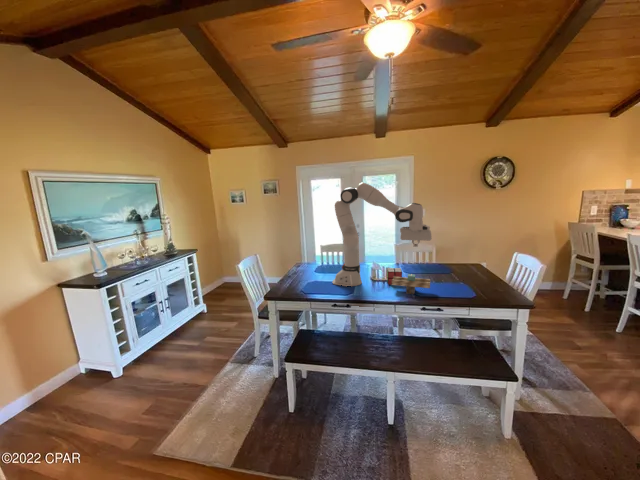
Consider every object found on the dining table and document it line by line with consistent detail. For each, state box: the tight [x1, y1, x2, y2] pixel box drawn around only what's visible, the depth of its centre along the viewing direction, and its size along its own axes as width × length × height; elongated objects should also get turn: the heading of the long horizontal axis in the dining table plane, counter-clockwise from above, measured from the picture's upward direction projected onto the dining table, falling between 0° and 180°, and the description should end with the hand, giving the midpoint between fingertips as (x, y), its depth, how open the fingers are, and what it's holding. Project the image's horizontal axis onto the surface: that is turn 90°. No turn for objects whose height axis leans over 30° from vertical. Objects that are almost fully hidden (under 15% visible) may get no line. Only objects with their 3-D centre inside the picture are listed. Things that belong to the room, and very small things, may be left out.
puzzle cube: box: [386, 267, 403, 286], centre depth 203 cm, size 10×10×10 cm
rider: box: [407, 273, 416, 281], centre depth 182 cm, size 4×5×5 cm
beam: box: [391, 276, 431, 295], centre depth 183 cm, size 24×9×9 cm, turn 67°
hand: (415, 246), depth 188 cm, fingers closed
